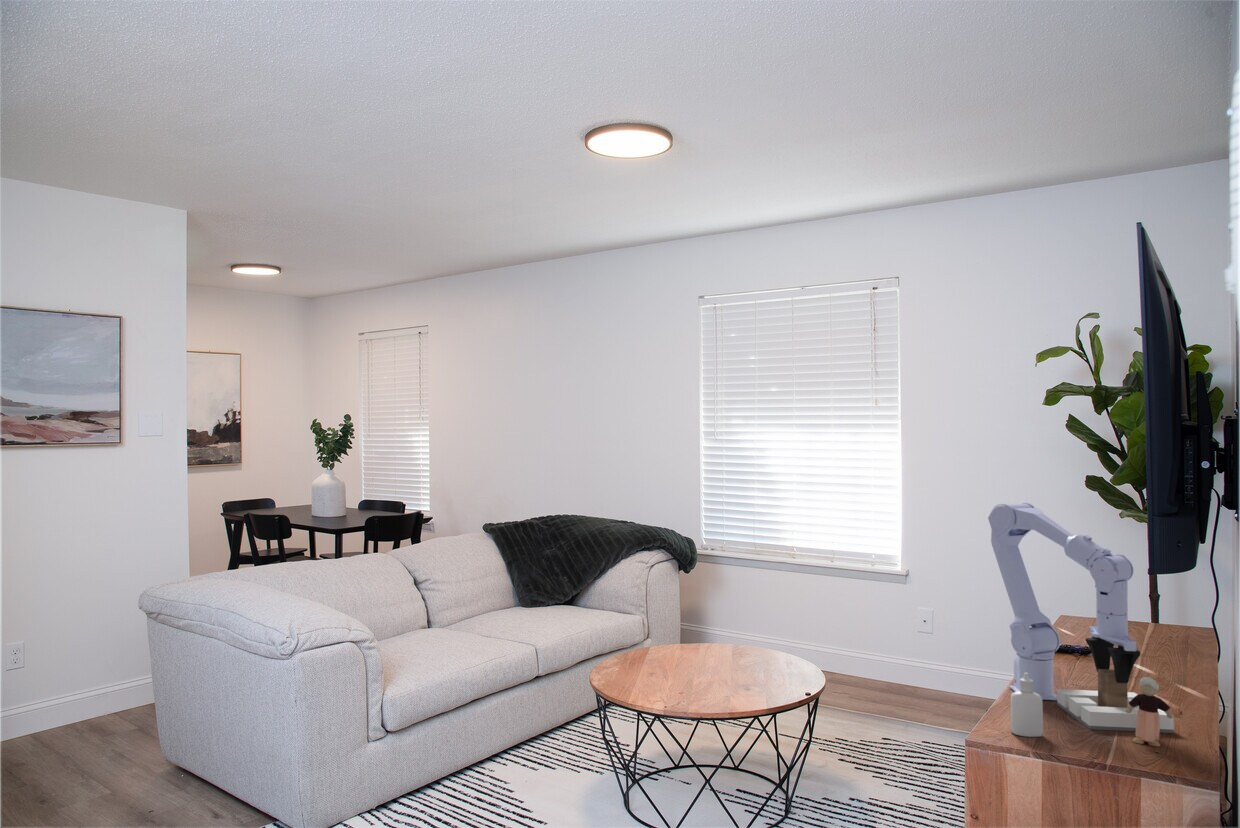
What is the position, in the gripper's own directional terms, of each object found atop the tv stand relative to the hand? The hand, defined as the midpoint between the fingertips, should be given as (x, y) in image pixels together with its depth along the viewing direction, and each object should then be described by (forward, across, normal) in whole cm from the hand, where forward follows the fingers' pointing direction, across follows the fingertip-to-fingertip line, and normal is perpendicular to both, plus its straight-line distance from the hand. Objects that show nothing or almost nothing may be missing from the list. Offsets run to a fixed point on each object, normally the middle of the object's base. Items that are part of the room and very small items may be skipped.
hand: (1112, 677), depth 178 cm
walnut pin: (+8, 0, 0) cm, 8 cm away
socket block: (+8, 0, 0) cm, 9 cm away
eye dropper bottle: (+9, +12, -23) cm, 27 cm away
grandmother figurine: (+9, +15, -1) cm, 17 cm away
